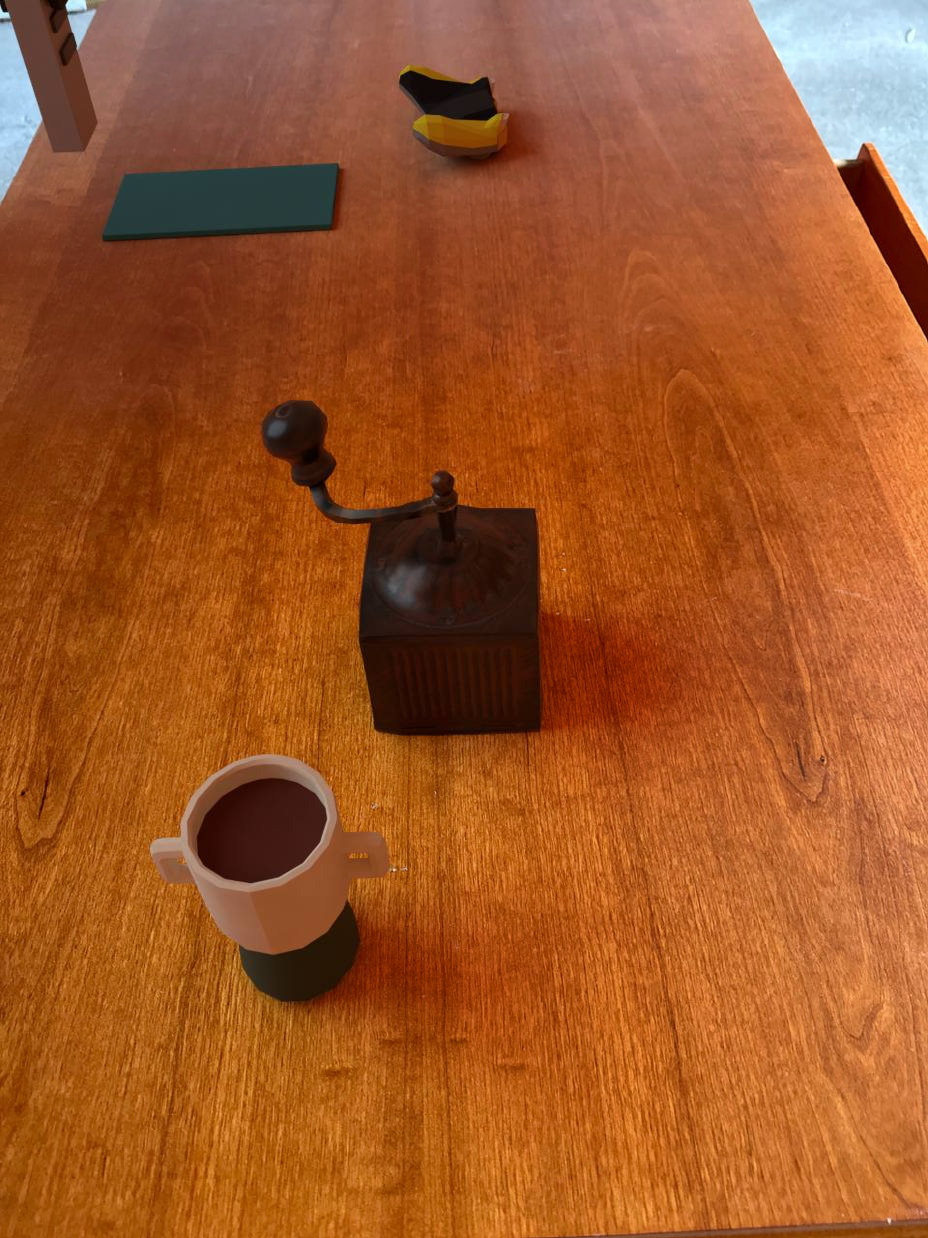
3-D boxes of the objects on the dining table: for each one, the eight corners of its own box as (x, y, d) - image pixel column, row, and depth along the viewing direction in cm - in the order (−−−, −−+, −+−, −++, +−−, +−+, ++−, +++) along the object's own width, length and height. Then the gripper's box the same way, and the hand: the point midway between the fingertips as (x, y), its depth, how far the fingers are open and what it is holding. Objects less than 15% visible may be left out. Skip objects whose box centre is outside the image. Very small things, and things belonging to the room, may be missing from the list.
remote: (52, 152, 84) (-20, -74, 73) (67, 123, 87) (0, -98, 76) (88, 151, 84) (22, -76, 73) (102, 122, 87) (40, -100, 76)
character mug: (407, 885, 62) (384, 748, 53) (403, 1013, 58) (377, 888, 48) (209, 891, 63) (150, 756, 53) (190, 1018, 58) (121, 896, 48)
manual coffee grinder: (540, 599, 76) (541, 378, 62) (544, 735, 69) (546, 518, 55) (308, 603, 77) (260, 385, 63) (288, 737, 69) (228, 524, 56)
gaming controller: (418, 179, 114) (516, 166, 115) (414, 125, 110) (515, 112, 111) (399, 112, 124) (490, 101, 125) (395, 60, 120) (488, 49, 121)
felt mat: (103, 240, 109) (101, 235, 109) (125, 179, 117) (124, 173, 117) (331, 229, 109) (331, 223, 108) (339, 168, 117) (338, 162, 116)
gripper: (-232, -321, 63) (-96, 30, 76) (60, -335, 62) (144, 21, 76) (-181, -347, 68) (-62, -13, 81) (90, -361, 67) (164, -22, 81)
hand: (37, 0), depth 79 cm, fingers closed on remote, 2 cm apart
